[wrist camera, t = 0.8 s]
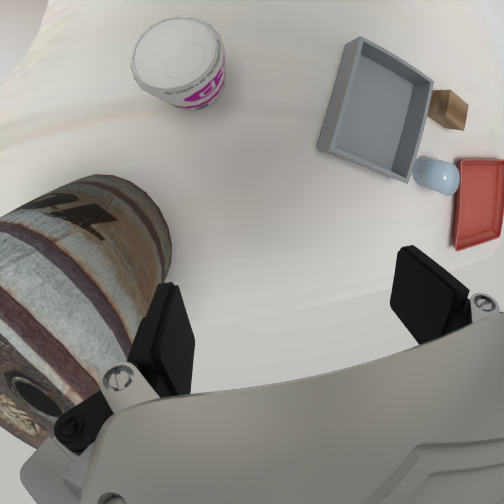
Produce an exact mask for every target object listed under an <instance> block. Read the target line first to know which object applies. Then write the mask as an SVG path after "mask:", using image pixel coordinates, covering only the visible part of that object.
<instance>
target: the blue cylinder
mask: <svg viewBox="0 0 504 504" xmlns="http://www.w3.org/2000/svg"><path fill="white" fill-rule="evenodd" d="M412 173H413V177H414V180H415V181H416V182H417V183H418V184H420V185H422V186H425V187H427V188H430V189H432V190H435V191H437V192H440V193H442V194H444V195H447V196H450V195H452V194H454V193H455V192H456V190H457V188H458V186H459V182H460V175H459V171H458V168H457V167H456V166H455V165H454V164H452V163H448V162H445V161H441V160H437V159H433V158H429V157H425V156H421V157H419V158H417V159H416V161H415V163H414V166H413V169H412Z"/></svg>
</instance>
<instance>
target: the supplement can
mask: <svg viewBox="0 0 504 504" xmlns="http://www.w3.org/2000/svg"><path fill="white" fill-rule="evenodd" d="M131 70H132V74H133V77H134V80H135V81H136V82H137V83H138V85H139V86H140V87H141V88H142V90H144V91H146V92H148V93H150V94H152V95H154V96H156V97H158V98H160V99H162V100H164V101H166V102H168V103H170V104H172V105H174V106H176V107H178V108H180V109H186V110H196V109H202V108H204V107H206V106H208V105H210V104H212V103H213V102H214V101H215V100H216V99H217V98H218V97H219V96H220V94H221V92H222V90H223V88H224V82H225V61H224V46H223V43H222V40H221V37H220V35H219V33H218V32H217V31H216V30H215V29H214V28H213V27H212V26H211V25H210V24H208V23H206V22H204V21H201V20H199V19H197V18H192V17H182V16H176V17H171V18H167V19H163V20H161V21H159V22H157V23H155V24H153V25H152V26H150V27H149V28H148V29H147V30H146V31H145V32H144V33H143V34H142V35H141V36H140V37H139V39H138V41H137V42H136V44H135V46H134V48H133V52H132V59H131Z"/></svg>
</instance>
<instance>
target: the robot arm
mask: <svg viewBox="0 0 504 504" xmlns="http://www.w3.org/2000/svg"><path fill="white" fill-rule="evenodd" d="M469 291H470V290H469V289H468V288H467V287H465V286H464V285H463V284H462V283H461V282H460V281H458V280H457V279H456V278H455V277H453V276H452V275H451V274H450V273H449V272H447V271H446V270H445V269H444V268H443V267H441V266H440V265H439V264H437V263H436V262H435V261H434V260H432V259H431V258H430V257H428V256H427V255H426V254H425V253H423V252H422V251H421V250H419V249H418V248H417V247H415V246H413V245H411V246H405V247H402V248H401V249H400V251H398V253H397V260H396V268H395V274H394V281H393V287H392V294H391V298H390V306H391V308H392V310H393V311H394V312H395V313H396V315H397V316H398V318H400V320H401V321H402V323H403V324H404V325H405V326H406V328H407V329H408V330H409V332H410V333H411V334H412V335H413V337H414V338H415V340H416V341H417V342H418V344H419V345H418V346H415V347H413V348H410V349H407V350H404V351H401V352H398V353H396V354H392V355H389V356H386V357H383V358H380V359H377V360H373V361H370V362H367V363H363V364H359V365H356V366H352V367H349V368H345V369H341V370H337V371H333V372H329V373H324V374H320V375H316V376H311V377H307V378H301V379H297V380H291V381H286V382H281V383H275V384H269V385H262V386H255V387H248V388H241V389H233V390H224V391H215V392H206V393H196V394H190V392H191V380H192V369H193V358H194V349H195V338H194V334H193V332H192V328H191V325H190V322H189V319H188V316H187V312H186V309H185V306H184V303H183V299H182V296H181V292H180V289H179V286H178V285H174V284H173V283H172V282H169V283H161V284H158V286H157V288H156V291H155V293H154V296H153V299H152V301H151V304H150V306H149V309H148V312H147V315H146V317H144V318H142V320H141V322H140V324H139V327H138V330H137V333H136V335H135V338H134V341H133V344H132V347H131V350H130V352H129V355H128V358H127V361H126V362H119V363H115V364H113V365H110V366H109V367H108V368H106V369H105V370H104V371H103V372H102V374H101V376H100V378H99V386H100V389H101V390H100V391H98V392H96V393H95V394H93V395H92V396H90V397H89V398H87V399H86V400H84V401H82V402H81V403H79V404H78V405H76V406H75V407H73V408H71V409H70V410H68V411H67V412H65V413H63V414H62V415H61V416H60V417H59V418H58V419H57V421H56V423H55V426H54V434H55V436H54V437H53V438H52V439H51V438H50V437H48V438H47V439H46V440H45V441H44V442H43V444H42V445H41V446H40V447H39V448H38V449H37V450H36V451H35V452H34V454H33V455H32V456H31V457H30V458H29V459H28V460H27V461H26V462H25V463H24V465H23V466H22V468H21V471H20V479H21V481H22V484H23V485H24V486H25V488H26V490H27V491H28V492H29V494H30V495H31V496H32V497H33V499H34V500H35V501H36V503H37V504H504V313H503V312H500V310H499V306H498V303H497V302H496V300H495V299H494V298H492V297H491V296H489V295H487V294H483V293H475V294H474V295H472V296H471V298H470V300H469V299H468V298H467V297H468V294H469Z"/></svg>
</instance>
